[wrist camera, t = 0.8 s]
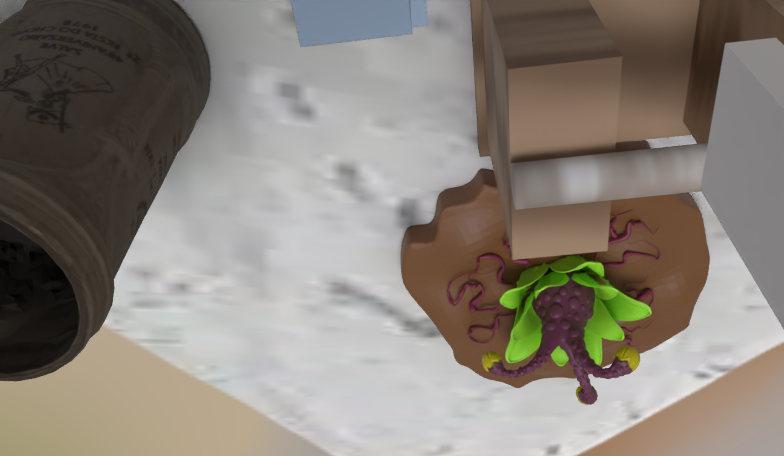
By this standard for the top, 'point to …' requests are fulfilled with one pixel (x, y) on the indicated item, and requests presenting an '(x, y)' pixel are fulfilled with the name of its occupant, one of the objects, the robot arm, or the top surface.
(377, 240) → the top surface
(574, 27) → the stand
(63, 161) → the beer stein
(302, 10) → the light blue forked piece
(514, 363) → the plant
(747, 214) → the robot arm
